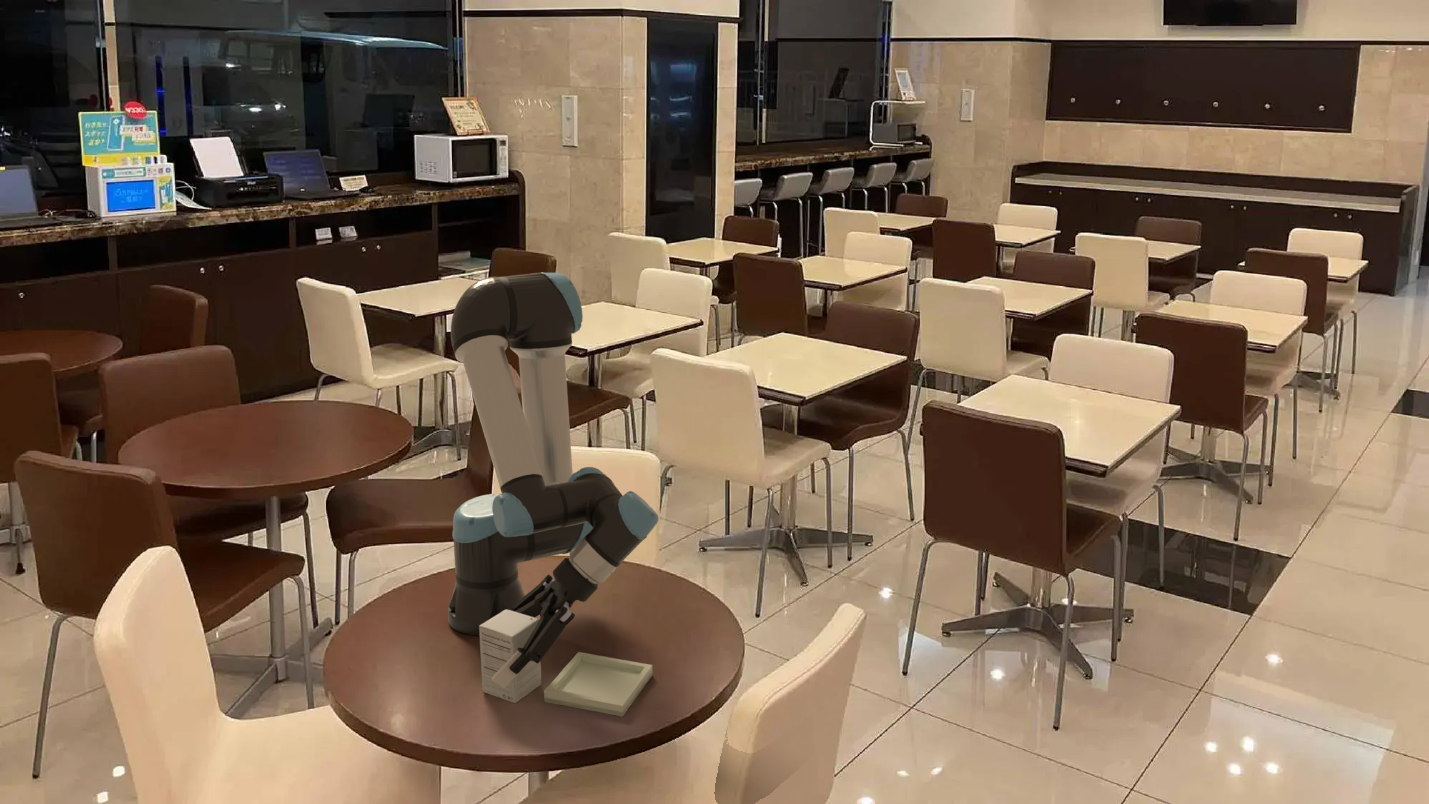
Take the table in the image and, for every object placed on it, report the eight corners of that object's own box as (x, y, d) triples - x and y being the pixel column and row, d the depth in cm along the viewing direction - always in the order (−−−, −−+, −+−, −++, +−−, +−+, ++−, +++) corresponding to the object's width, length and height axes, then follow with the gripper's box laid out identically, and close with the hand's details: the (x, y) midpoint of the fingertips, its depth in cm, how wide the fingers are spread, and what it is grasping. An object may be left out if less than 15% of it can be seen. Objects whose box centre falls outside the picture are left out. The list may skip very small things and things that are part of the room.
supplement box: (509, 673, 205) (506, 607, 202) (542, 685, 202) (540, 618, 198) (480, 692, 199) (477, 624, 195) (514, 704, 196) (512, 636, 192)
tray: (544, 701, 197) (544, 690, 196) (578, 661, 209) (578, 651, 209) (622, 716, 193) (622, 705, 192) (652, 675, 205) (652, 664, 205)
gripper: (615, 612, 190) (520, 713, 189) (584, 556, 210) (499, 648, 210) (582, 586, 187) (486, 689, 186) (554, 532, 207) (467, 625, 207)
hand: (493, 667), depth 198 cm, fingers closed on supplement box, 10 cm apart
